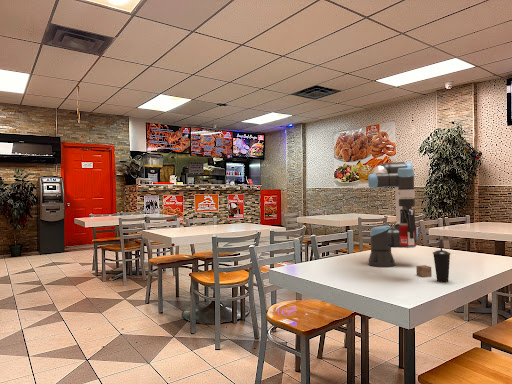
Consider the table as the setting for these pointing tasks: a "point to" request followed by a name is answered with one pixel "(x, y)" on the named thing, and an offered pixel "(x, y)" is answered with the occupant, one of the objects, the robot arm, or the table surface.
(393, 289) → the table surface
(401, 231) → the canned food
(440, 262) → the drinking cup
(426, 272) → the walnut block
